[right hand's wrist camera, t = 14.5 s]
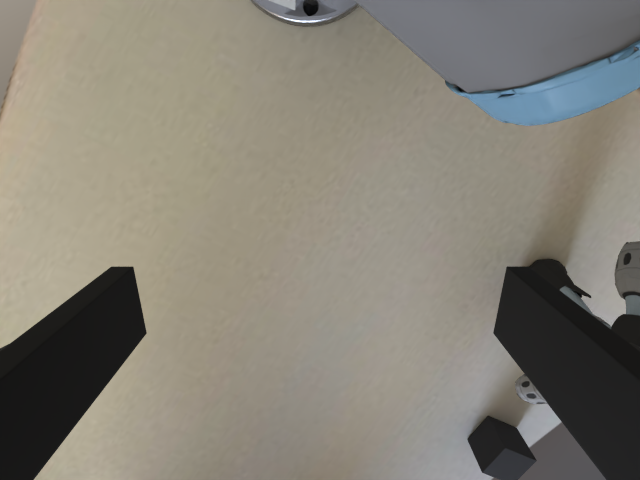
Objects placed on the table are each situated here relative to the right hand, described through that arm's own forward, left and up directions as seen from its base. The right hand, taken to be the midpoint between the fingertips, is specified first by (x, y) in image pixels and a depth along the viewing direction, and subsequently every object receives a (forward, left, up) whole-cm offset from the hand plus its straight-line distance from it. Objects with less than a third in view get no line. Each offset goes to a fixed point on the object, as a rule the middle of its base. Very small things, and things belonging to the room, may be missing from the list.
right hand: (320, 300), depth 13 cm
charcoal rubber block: (+11, +43, -27) cm, 52 cm away
